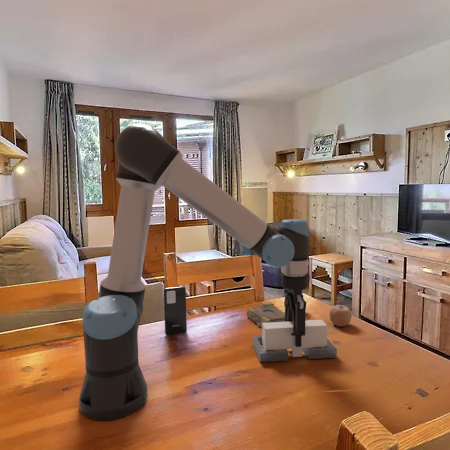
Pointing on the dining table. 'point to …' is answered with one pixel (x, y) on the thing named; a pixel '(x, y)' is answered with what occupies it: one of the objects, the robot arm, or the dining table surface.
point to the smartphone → (175, 310)
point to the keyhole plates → (283, 353)
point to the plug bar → (281, 336)
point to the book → (265, 314)
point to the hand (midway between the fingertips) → (294, 351)
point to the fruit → (340, 315)
